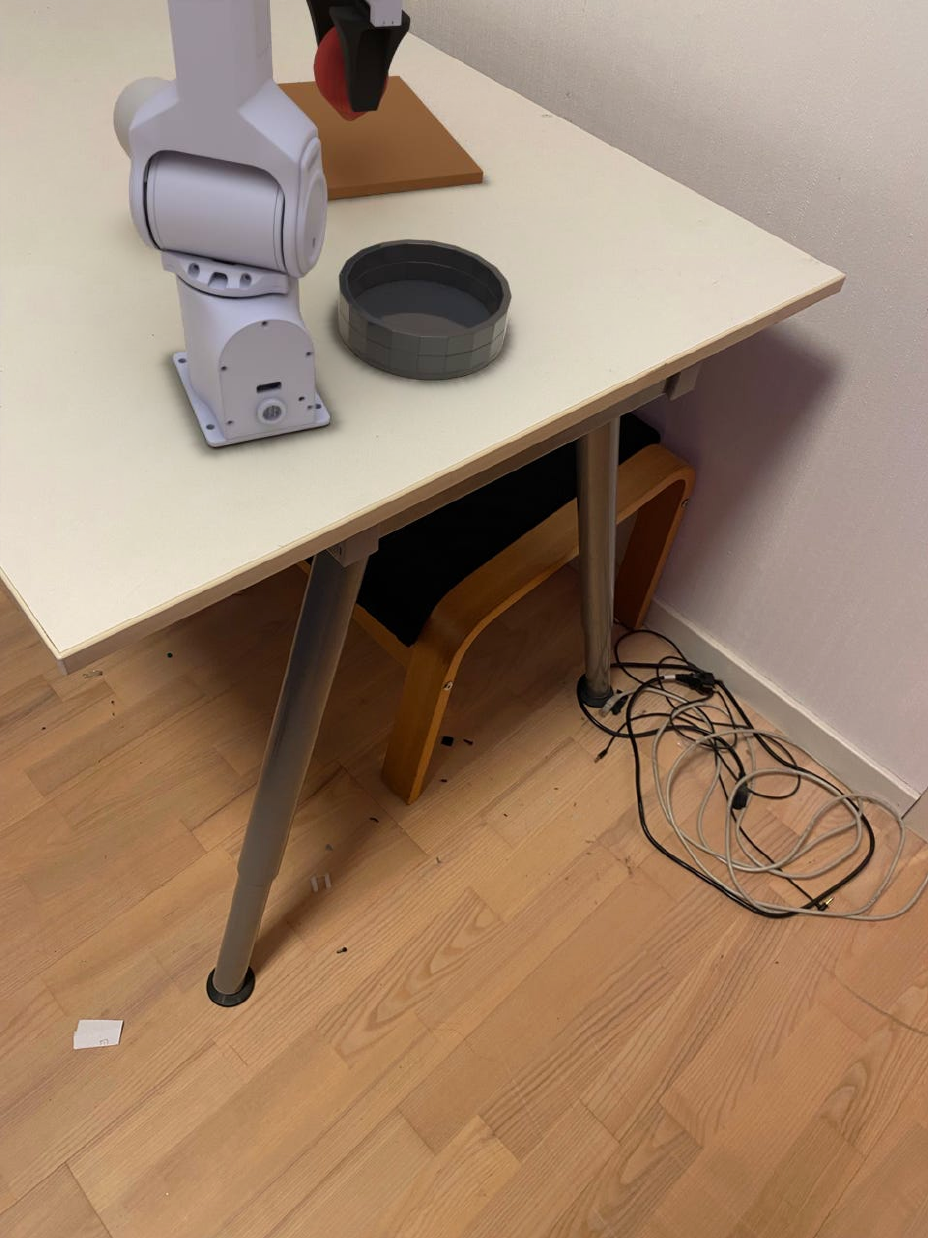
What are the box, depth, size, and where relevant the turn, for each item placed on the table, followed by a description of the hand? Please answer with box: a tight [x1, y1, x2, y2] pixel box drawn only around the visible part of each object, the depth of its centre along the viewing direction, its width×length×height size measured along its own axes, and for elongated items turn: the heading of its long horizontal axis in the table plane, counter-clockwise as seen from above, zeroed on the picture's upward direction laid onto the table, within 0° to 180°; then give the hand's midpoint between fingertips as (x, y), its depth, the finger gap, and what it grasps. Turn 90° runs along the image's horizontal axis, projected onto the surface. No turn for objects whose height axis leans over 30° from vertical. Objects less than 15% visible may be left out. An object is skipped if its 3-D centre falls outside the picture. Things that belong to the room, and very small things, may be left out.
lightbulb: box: [112, 76, 172, 161], centre depth 68 cm, size 6×6×11 cm
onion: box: [312, 27, 390, 121], centre depth 72 cm, size 6×6×8 cm
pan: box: [337, 238, 513, 381], centre depth 66 cm, size 12×12×4 cm
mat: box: [276, 75, 484, 201], centre depth 85 cm, size 20×16×1 cm
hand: (350, 91), depth 74 cm, fingers closed on onion, 6 cm apart
